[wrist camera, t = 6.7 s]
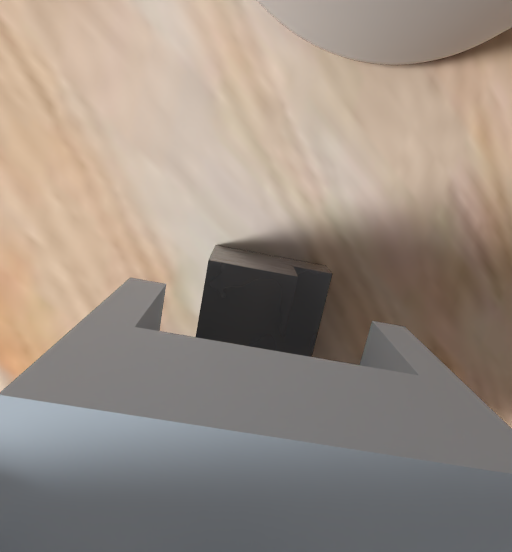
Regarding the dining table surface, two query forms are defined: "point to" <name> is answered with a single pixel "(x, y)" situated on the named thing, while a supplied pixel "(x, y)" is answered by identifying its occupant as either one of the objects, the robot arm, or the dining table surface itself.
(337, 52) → the cylinder vase
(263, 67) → the dining table surface
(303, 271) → the rail
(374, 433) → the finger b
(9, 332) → the dining table surface
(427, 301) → the dining table surface
